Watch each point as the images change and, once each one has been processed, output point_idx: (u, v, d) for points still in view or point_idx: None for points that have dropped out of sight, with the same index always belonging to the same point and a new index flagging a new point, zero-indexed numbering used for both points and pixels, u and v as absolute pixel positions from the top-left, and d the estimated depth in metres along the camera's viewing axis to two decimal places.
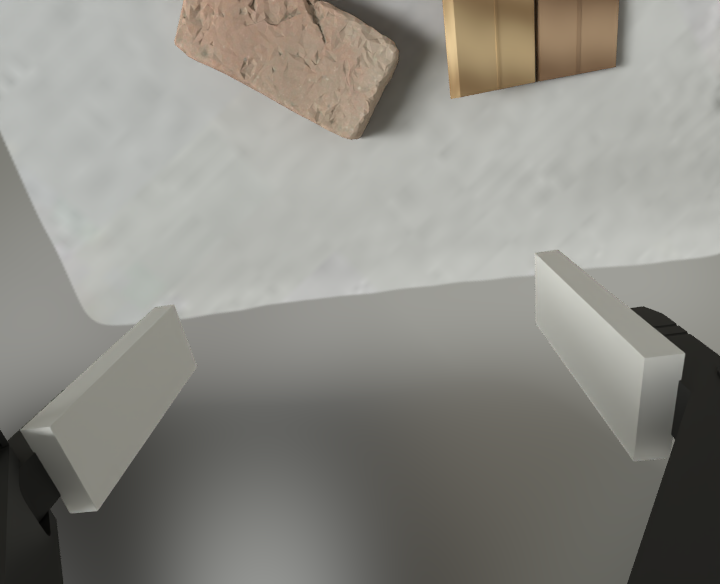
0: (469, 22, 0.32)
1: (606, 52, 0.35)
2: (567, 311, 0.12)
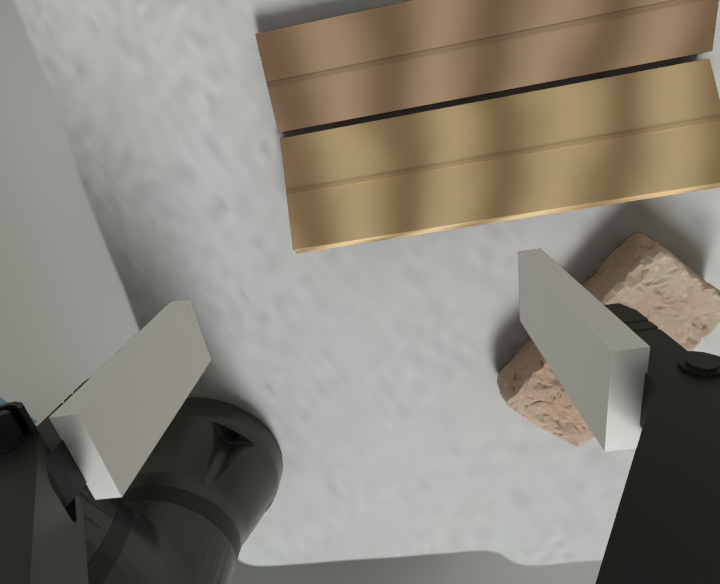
0: (648, 172, 0.27)
1: None
2: (546, 308, 0.13)
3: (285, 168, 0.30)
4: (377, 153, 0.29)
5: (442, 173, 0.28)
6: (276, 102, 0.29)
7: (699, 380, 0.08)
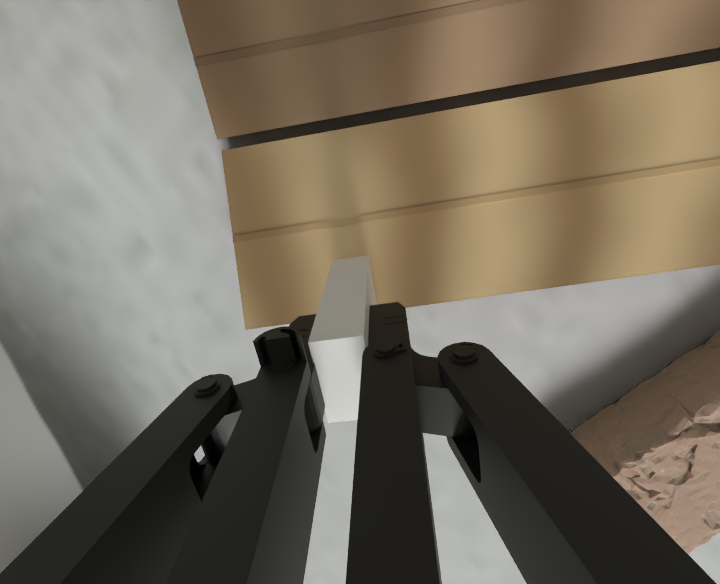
0: None
1: None
2: None
3: (230, 199, 0.19)
4: (375, 178, 0.18)
5: (478, 212, 0.18)
6: (211, 90, 0.18)
7: (386, 360, 0.10)
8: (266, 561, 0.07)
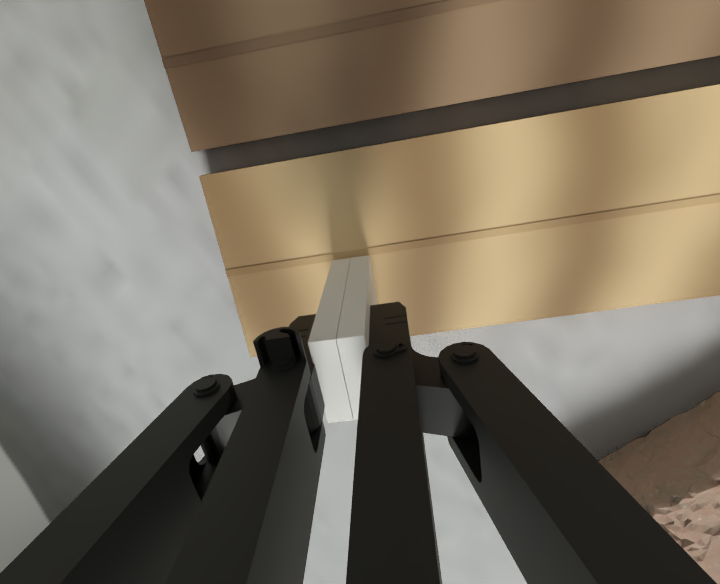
0: None
1: None
2: None
3: (218, 231, 0.17)
4: (375, 209, 0.17)
5: (483, 246, 0.17)
6: (183, 96, 0.16)
7: (387, 360, 0.10)
8: (266, 561, 0.07)
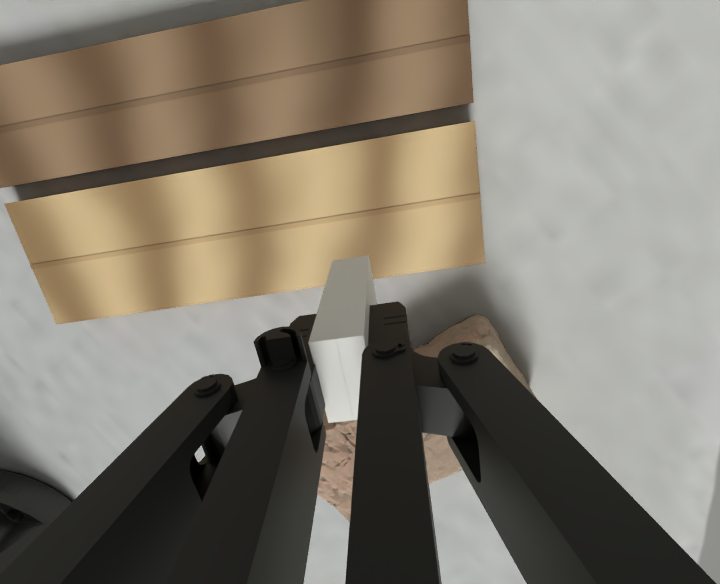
0: (399, 253, 0.26)
1: None
2: None
3: (21, 239, 0.27)
4: (119, 225, 0.26)
5: (192, 249, 0.26)
6: None
7: (386, 360, 0.10)
8: (267, 562, 0.07)
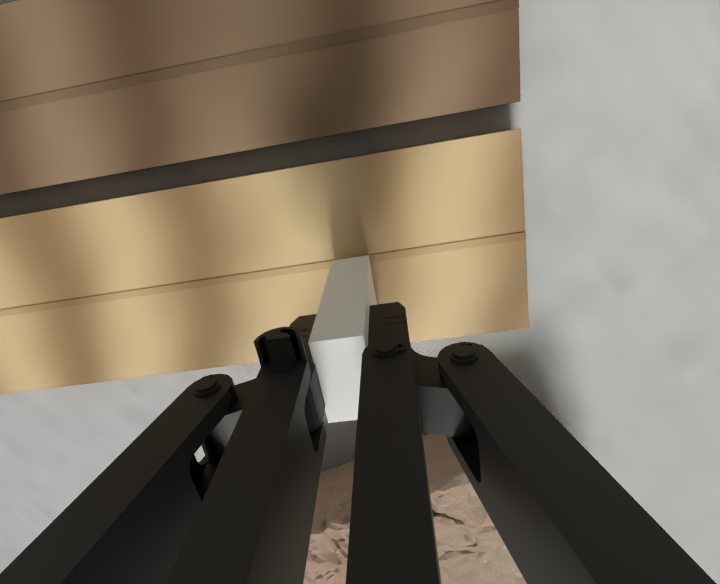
0: (408, 314, 0.18)
1: None
2: None
3: None
4: (15, 274, 0.19)
5: (119, 306, 0.19)
6: None
7: (386, 360, 0.10)
8: (267, 561, 0.07)
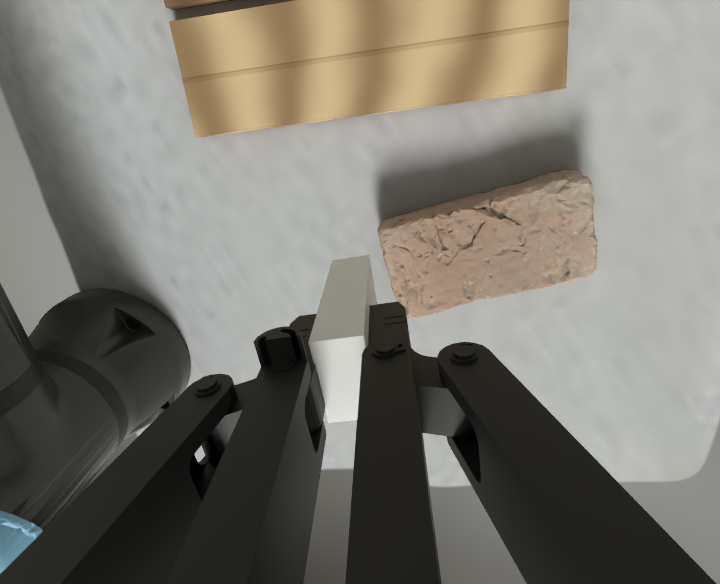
0: (494, 77, 0.31)
1: None
2: None
3: (178, 55, 0.32)
4: (261, 44, 0.31)
5: (320, 68, 0.32)
6: None
7: (386, 360, 0.10)
8: (267, 561, 0.07)
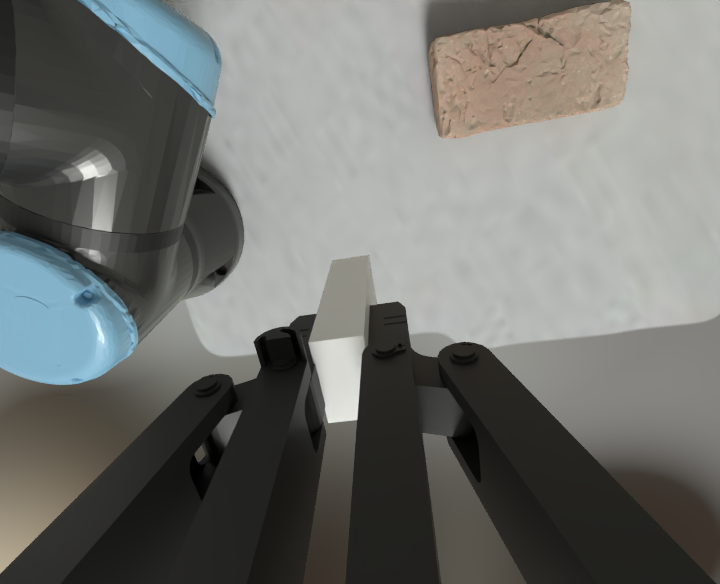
0: None
1: None
2: None
3: None
4: None
5: None
6: None
7: (386, 360, 0.10)
8: (267, 561, 0.07)
